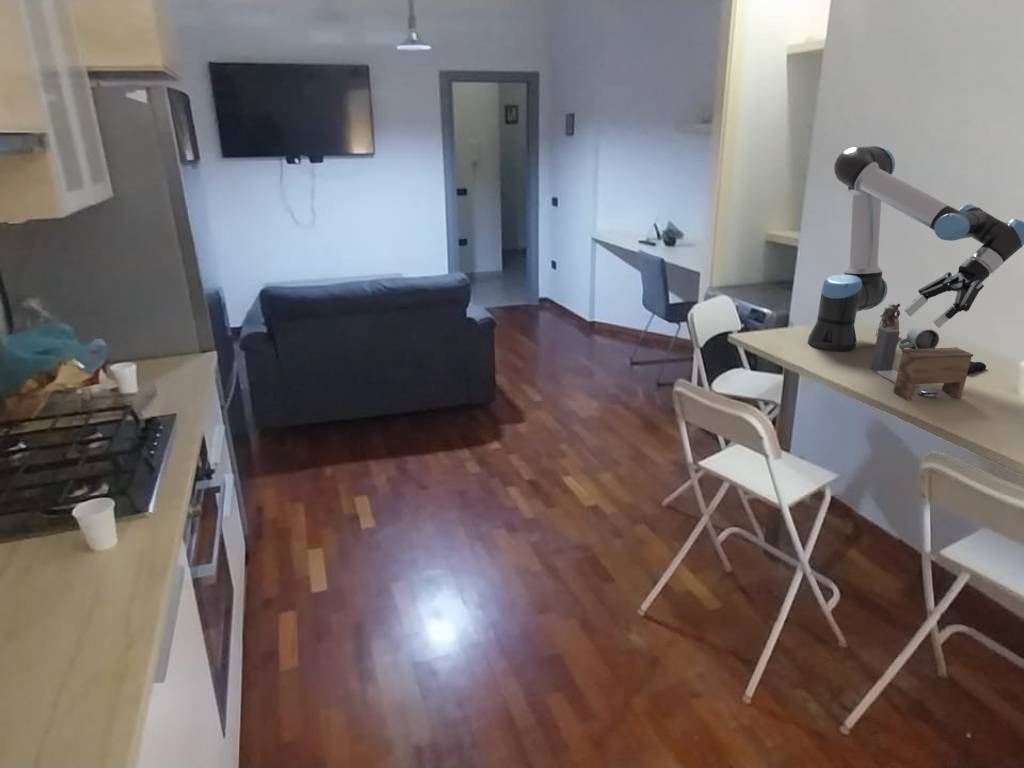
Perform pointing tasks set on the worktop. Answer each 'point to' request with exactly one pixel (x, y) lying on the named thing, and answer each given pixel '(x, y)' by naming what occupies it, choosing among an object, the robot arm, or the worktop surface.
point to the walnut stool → (932, 370)
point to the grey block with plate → (886, 353)
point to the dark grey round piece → (927, 393)
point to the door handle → (976, 366)
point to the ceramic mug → (920, 338)
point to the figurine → (890, 318)
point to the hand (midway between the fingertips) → (921, 318)
